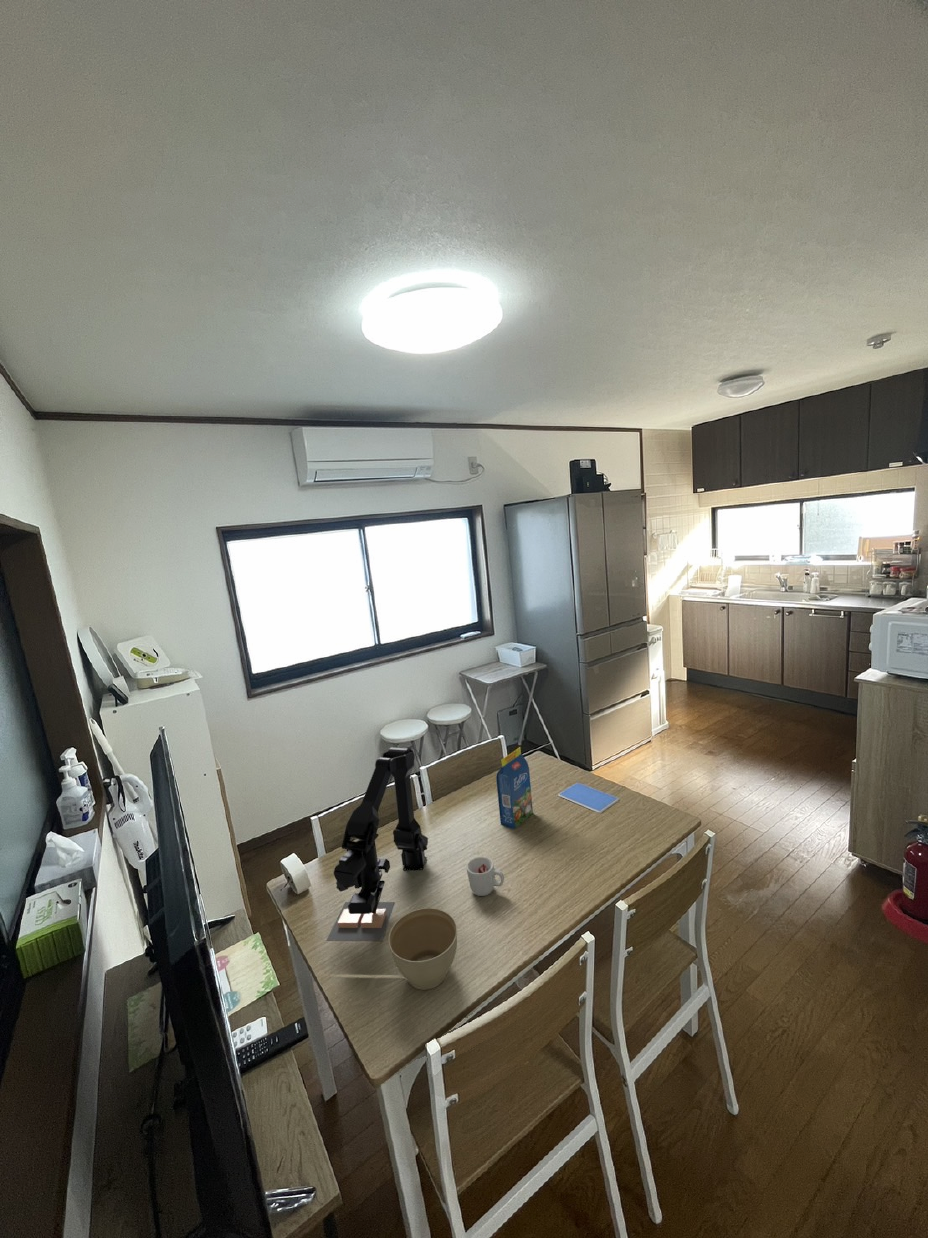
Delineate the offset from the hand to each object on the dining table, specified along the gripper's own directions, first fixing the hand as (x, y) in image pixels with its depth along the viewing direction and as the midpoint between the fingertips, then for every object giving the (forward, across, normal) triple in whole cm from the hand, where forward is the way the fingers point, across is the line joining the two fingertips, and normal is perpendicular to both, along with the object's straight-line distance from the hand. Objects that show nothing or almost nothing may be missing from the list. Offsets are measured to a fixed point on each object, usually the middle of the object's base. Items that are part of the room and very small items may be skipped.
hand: (374, 912), depth 137 cm
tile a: (+1, -2, 0) cm, 2 cm away
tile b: (+1, -2, -6) cm, 7 cm away
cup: (+3, -11, +30) cm, 32 cm away
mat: (+2, 0, -4) cm, 4 cm away
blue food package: (+3, -48, +38) cm, 62 cm away
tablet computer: (+3, -61, +64) cm, 89 cm away
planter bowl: (+3, +17, +18) cm, 25 cm away
